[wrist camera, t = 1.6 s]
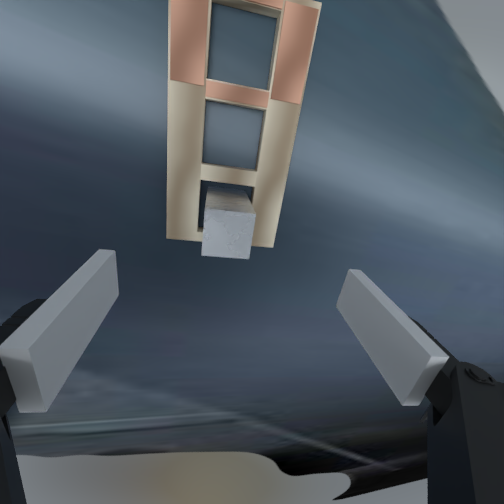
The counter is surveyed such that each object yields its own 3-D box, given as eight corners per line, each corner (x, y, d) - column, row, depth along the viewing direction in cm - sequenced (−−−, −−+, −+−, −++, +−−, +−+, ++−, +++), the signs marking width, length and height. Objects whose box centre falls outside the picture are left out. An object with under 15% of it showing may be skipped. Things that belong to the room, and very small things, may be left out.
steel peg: (205, 220, 29) (201, 255, 21) (208, 185, 27) (204, 208, 19) (240, 224, 30) (248, 259, 22) (244, 190, 28) (256, 214, 20)
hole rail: (168, 233, 29) (166, 239, 27) (172, -27, 20) (168, -40, 18) (270, 242, 31) (273, 248, 30) (315, 11, 22) (322, 1, 20)
